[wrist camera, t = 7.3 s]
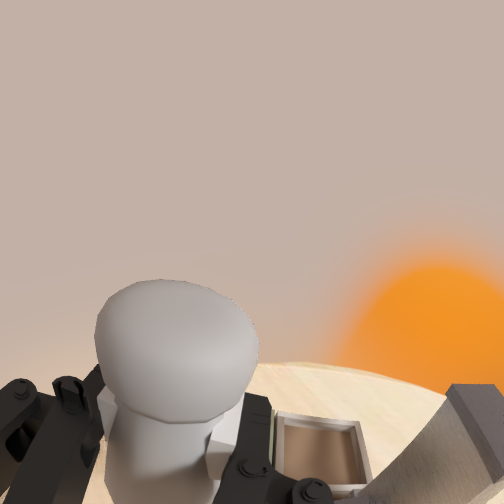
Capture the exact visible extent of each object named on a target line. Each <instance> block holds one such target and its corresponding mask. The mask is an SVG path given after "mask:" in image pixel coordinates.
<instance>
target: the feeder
mask: <svg viewBox="0 0 504 504" xmlns="http://www.w3.org/2000/svg"><path fill="white" fill-rule="evenodd" d="M445 395H446V396H447V399H446V400H445V402H444V403H443V404H442V406H441V407H440V408H439V410H438V411H437V412H436V413H435V415H434V416H433V417H432V418H431V420H430V421H429V422H428V423H427V425H426V426H425V427H424V428H423V429H422V431H421V432H420V433H419V434H418V435H417V436H416V437H415V439H414V440H413V441H412V442H411V443H410V444H409V445H408V446H407V447H406V448H405V449H404V451H403V452H402V453H401V454H400V455H399V456H398V457H397V458H396V459H395V460H394V461H393V462H392V463H391V464H390V465H389V466H388V467H387V468H386V469H384V470H383V471H382V472H381V473H380V474H379V475H378V476H377V477H376V478H375V479H374V480H372V481H371V482H370V483H369V484H368V485H367V486H366V487H364V488H363V489H353V490H352V491H351V492H349V493H348V494H347V495H346V496H345V497H343V498H342V499H341V500H336V501H334V504H485V503H486V502H488V501H489V500H490V499H491V498H493V497H494V496H495V495H496V494H498V493H499V492H500V491H501V490H502V489H503V488H504V397H503V395H502V394H501V393H500V392H499V390H498V389H497V388H496V386H495V385H494V384H483V385H482V384H481V385H480V384H452V385H451V386H450V388H449V389H448V391H447V392H446V393H445Z"/></svg>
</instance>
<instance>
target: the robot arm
mask: <svg viewBox="0 0 504 504" xmlns="http://www.w3.org/2000/svg"><path fill="white" fill-rule="evenodd" d="M52 385H53V389H54V392H55V395H56V396H51V395H47V394H44V393H40V392H37V389H36V386H35V385H34V384H33V383H32V382H31V381H29V380H27V379H22V378H20V379H15V380H13V381H11V382H10V383H8V384H7V385H6V386H5V387H3V388H2V389H1V390H0V497H1V495H2V494H3V493H4V492H5V491H6V490H7V489H8V488H9V486H10V485H11V486H10V488H9V490H8V493H7V495H6V497H5V500H4V502H3V504H82V502H83V498H84V495H85V492H86V489H87V486H88V483H89V480H90V477H91V474H92V471H93V468H94V465H95V462H96V459H97V456H98V453H99V451H100V443H99V441H100V440H101V438H102V436H103V435H104V437H105V441H106V442H108V438H109V435H110V432H111V428H112V425H113V422H114V419H115V415H116V412H117V409H118V406H117V405H116V403H115V402H114V398H115V395H114V394H113V393H112V392H111V391H110V390H109V389H108V387H107V386H106V384H105V382H104V380H103V377H102V373H101V369H100V366H99V364H97V365H96V366H95V367H94V370H92V371H91V372H90V373H89V374H88V376H87V377H86V378H85V379H84V381H81V380H80V379H78V378H76V377H72V376H62V377H60V378H57V379H55V380H54V382H52ZM271 411H272V406H271V404H270V402H269V400H268V398H267V397H264V396H260V395H255V394H251V393H246V392H244V394H243V395H242V397H241V399H240V401H239V403H237V404H236V405H235V406H234V407H233V408H232V409H230V410H229V411H227V412H225V413H224V418H223V419H222V420H221V421H220V422H219V423H218V424H217V425H216V426H215V427H214V428H213V430H212V434H211V438H210V441H209V445H208V448H207V452H206V455H205V460H206V465H207V470H208V475H209V478H211V479H215V480H219V481H220V480H221V481H220V486H219V488H218V491H217V493H216V495H215V497H214V500H213V502H212V504H334V500H333V495H332V491H331V489H330V487H329V486H328V485H327V484H326V483H325V482H324V481H322V480H320V479H318V478H311V477H310V478H304V479H301V480H300V481H298V480H295V479H292V478H290V477H287V476H285V475H283V474H281V473H279V472H278V471H277V470H275V469H274V467H273V466H272V465H271V463H270V460H269V446H270V429H271V427H270V426H271Z"/></svg>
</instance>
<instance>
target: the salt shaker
mask: <svg viewBox="0 0 504 504" xmlns="http://www.w3.org/2000/svg"><path fill="white" fill-rule="evenodd" d="M94 338H95V345H96V352H97V358H98V362H99V366H100V369H101V373H102V377H103V380H104V382H105V384H106V386H107V387H108V389H109V390H110V391H111V392H112V393H113V394H114V395H115V398H114V402H115V403H116V405H117V406H118V409H117V412H116V415H115V419H114V422H113V425H112V428H111V432H110V435H109V438H108V446H107V455H106V466H105V478H104V481H105V484H106V486H107V489H108V491H109V493H110V496H111V498H112V500H113V503H114V504H212V502H213V500H214V497H215V495H216V493H217V491H218V488H219V486H220V481H221V480H220V481H219V480H215V479H211V478H209V475H208V470H207V465H206V460H205V455H206V452H207V448H208V445H209V441H210V438H211V434H212V430H213V428H214V427H215V426H216V425H217V424H218V423H219V422H220V421H221V420H222V419H223V418H224V413H225V412H227V411H229V410H230V409H232V408H233V407H234V406H235V405H236V404H237V403H239V401H240V399H241V397H242V395H243V394H244V392H245V390H246V388H247V386H248V384H249V382H250V380H251V378H252V376H253V373H254V371H255V368H256V366H257V363H258V354H259V344H260V343H259V340H258V337H257V334H256V330H255V328H254V324H253V323H252V321H251V320H250V319H249V317H248V316H247V315H246V313H245V312H244V311H243V310H242V309H241V308H240V307H239V306H238V305H237V304H236V303H235V302H234V301H233V300H232V299H230V298H228V297H226V296H224V295H222V294H220V293H218V292H216V291H214V290H212V289H210V288H206V287H203V286H200V285H196V284H193V283H189V282H186V281H175V280H163V279H159V280H150V281H142V282H136V283H134V284H132V285H130V286H128V287H126V288H124V289H122V290H120V291H118V292H117V293H115V294H114V295H113V296H111V297H110V298H108V300H107V302H106V303H105V305H104V306H103V308H102V309H101V311H100V313H99V314H98V317H97V323H96V329H95V335H94Z"/></svg>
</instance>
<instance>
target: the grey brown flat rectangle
mask: <svg viewBox="0 0 504 504" xmlns="http://www.w3.org/2000/svg"><path fill="white" fill-rule="evenodd" d="M274 411H275V410H272V411H271V426H270V427H271V429H270V446H269V460H270V463H271V465H272V466H273V467H274V469H275V470H277V471H278V472H279V473H281V474H283V475H285V476H287V477H290V478H292V479H295V480H298V481H300V480H301V479H304V478H310V477H311V478H318V479H320V480H322V481H324V482H325V483H326V484H327V485H328V486H329V487H330V489H331V491H332V495H333V500H334V501H336V500H341V499H342V498H343V497H345V496H346V495H347V494H348V493H349V492H351V491H352V490H353V489H363V488H364V487H366V486H367V485H368V484H369V483H370V482H371V481H372V480H373V477H372V473H371V468H370V464H369V459H368V455H367V451H366V446H365V442H364V438H363V434H362V430H361V426H360V422H359V421H347V420H337V419H328V418H320V417H312V416H306V415H299V414H293V413H287V412H282V411H278V412H277V414H276V416H275V417H274Z"/></svg>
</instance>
